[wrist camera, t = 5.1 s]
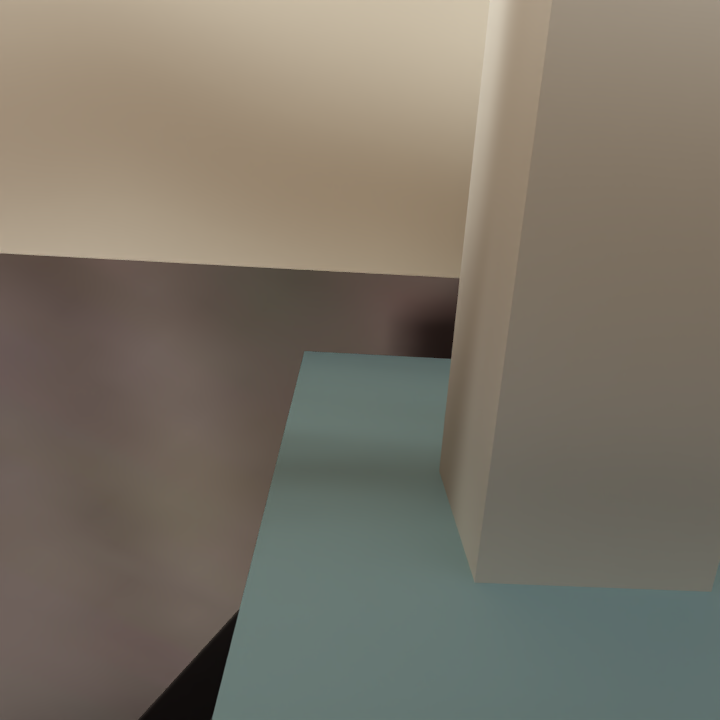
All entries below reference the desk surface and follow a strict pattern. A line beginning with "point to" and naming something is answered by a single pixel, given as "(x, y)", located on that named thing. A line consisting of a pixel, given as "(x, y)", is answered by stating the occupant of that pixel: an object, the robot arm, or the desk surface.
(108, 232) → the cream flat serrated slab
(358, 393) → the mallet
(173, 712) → the robot arm
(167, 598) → the desk surface
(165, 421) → the desk surface
